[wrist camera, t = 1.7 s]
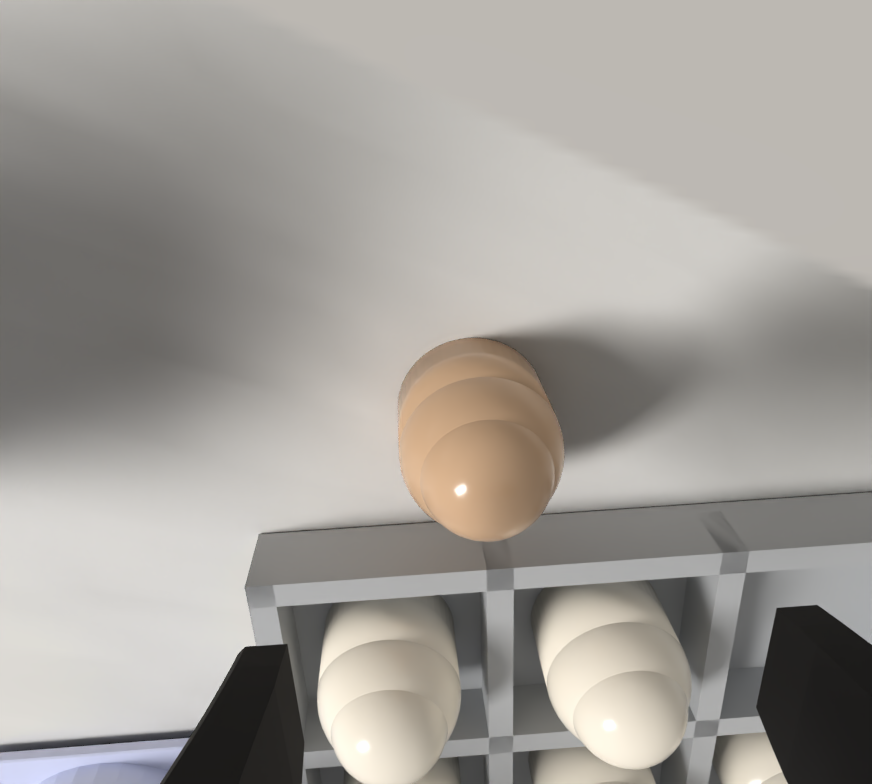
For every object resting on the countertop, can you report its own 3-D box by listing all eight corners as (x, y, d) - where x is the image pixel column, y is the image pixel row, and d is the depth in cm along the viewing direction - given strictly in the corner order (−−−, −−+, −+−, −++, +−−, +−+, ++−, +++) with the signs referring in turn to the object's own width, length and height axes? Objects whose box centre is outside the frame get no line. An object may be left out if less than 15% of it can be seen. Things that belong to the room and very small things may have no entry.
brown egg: (541, 463, 20) (583, 579, 16) (402, 472, 20) (406, 592, 15) (544, 333, 18) (593, 421, 14) (392, 342, 18) (394, 434, 14)
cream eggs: (809, 773, 25) (895, 923, 21) (350, 811, 25) (341, 972, 20) (869, 543, 21) (993, 670, 17) (317, 582, 21) (298, 724, 16)
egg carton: (836, 788, 26) (872, 848, 24) (312, 831, 26) (305, 897, 24) (923, 488, 21) (980, 534, 19) (258, 534, 20) (244, 587, 18)
